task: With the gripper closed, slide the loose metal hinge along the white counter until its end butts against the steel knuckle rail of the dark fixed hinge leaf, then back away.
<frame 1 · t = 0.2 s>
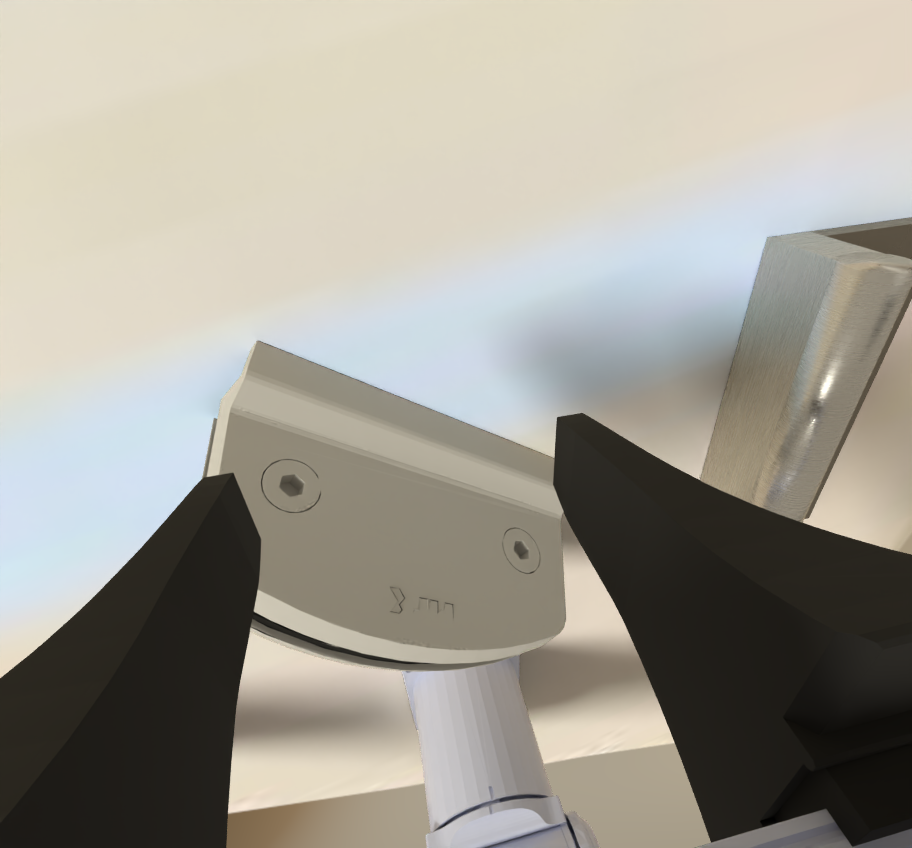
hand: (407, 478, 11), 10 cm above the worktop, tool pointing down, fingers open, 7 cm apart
fixed leaf: (735, 411, 26), on the worktop
hinge: (395, 468, 24), on the worktop
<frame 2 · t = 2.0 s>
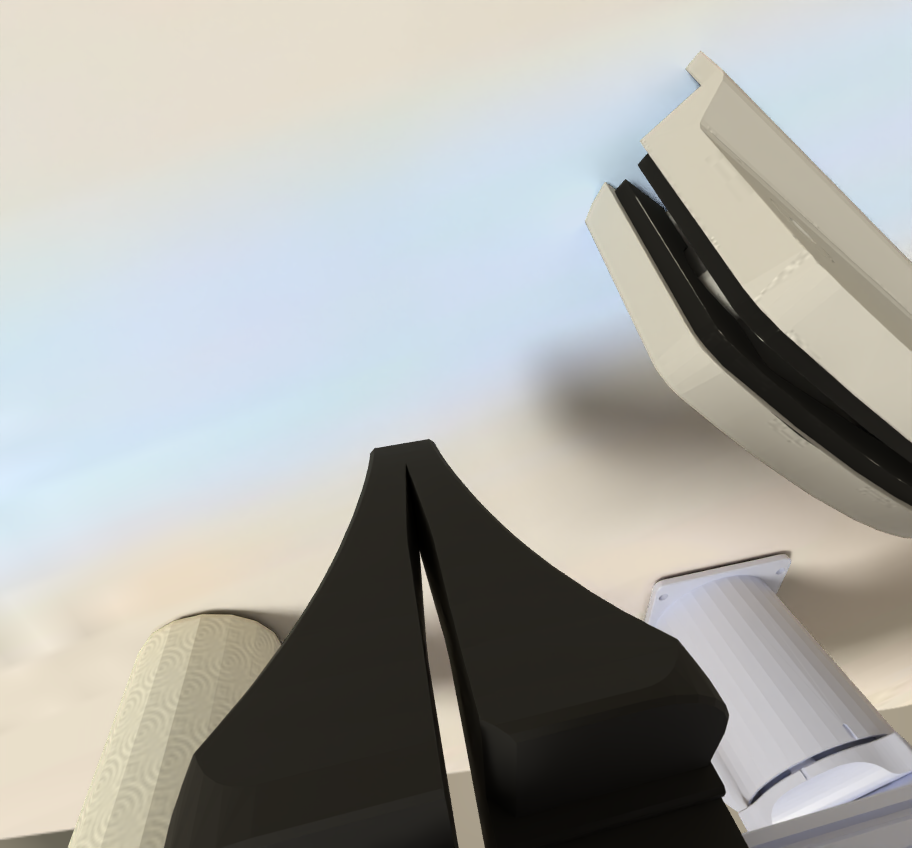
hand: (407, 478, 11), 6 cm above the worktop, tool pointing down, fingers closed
paper towel roll: (218, 654, 23), on the worktop
hinge: (758, 299, 19), on the worktop
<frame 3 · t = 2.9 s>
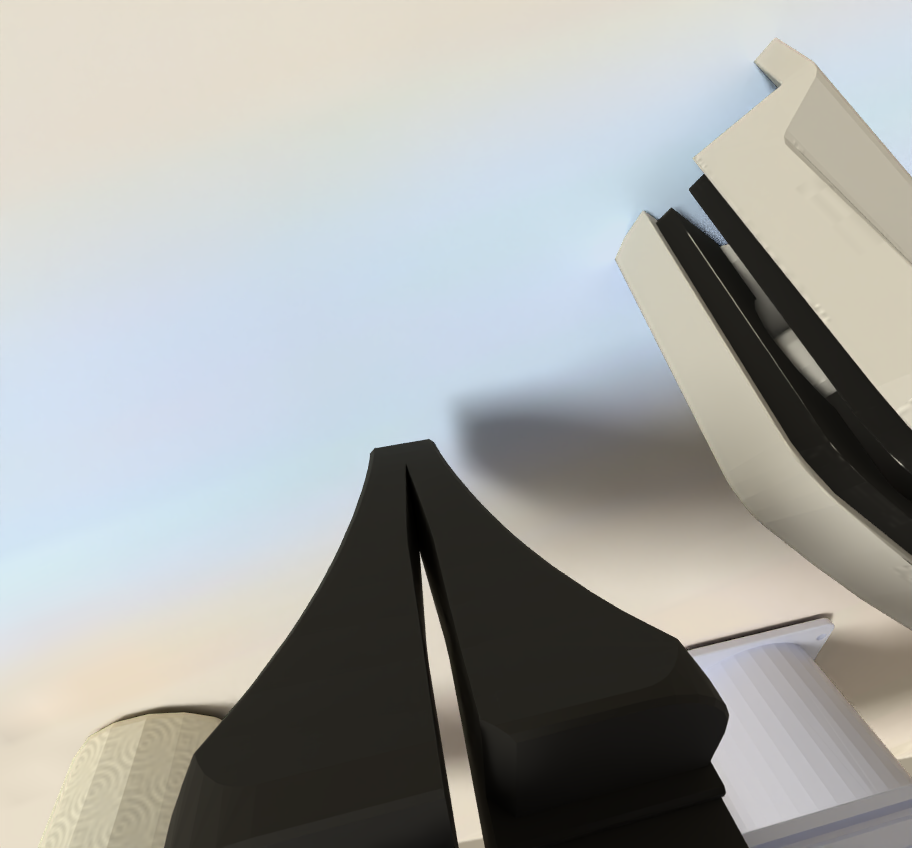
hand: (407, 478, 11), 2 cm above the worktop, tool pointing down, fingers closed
paper towel roll: (173, 749, 20), on the worktop
hinge: (820, 345, 15), on the worktop
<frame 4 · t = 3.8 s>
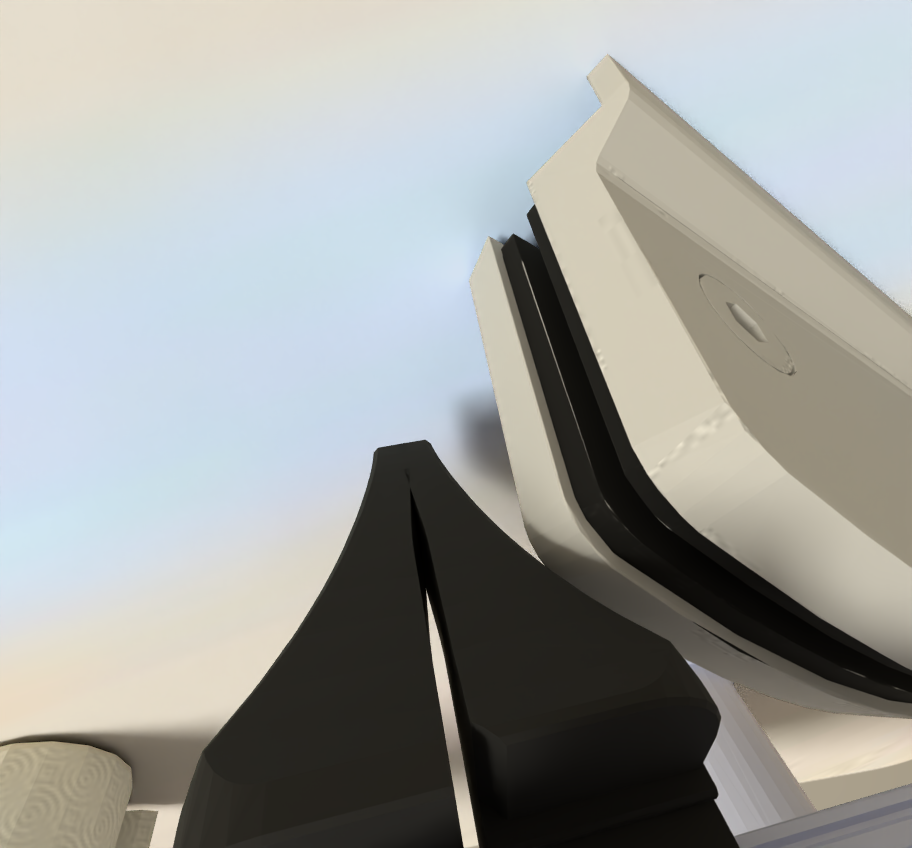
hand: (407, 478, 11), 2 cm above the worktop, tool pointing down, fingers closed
paper towel roll: (54, 776, 19), on the worktop
hinge: (717, 365, 15), on the worktop, touching gripper
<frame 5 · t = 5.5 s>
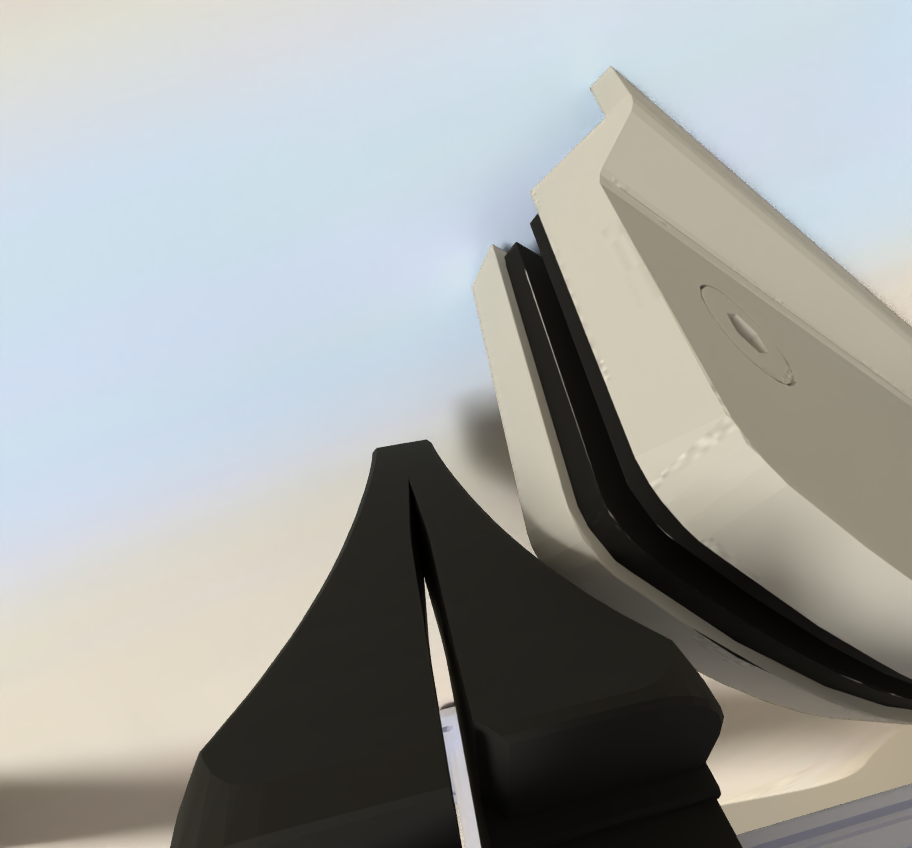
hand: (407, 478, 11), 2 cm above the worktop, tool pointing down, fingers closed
hinge: (716, 372, 15), on the worktop, touching gripper
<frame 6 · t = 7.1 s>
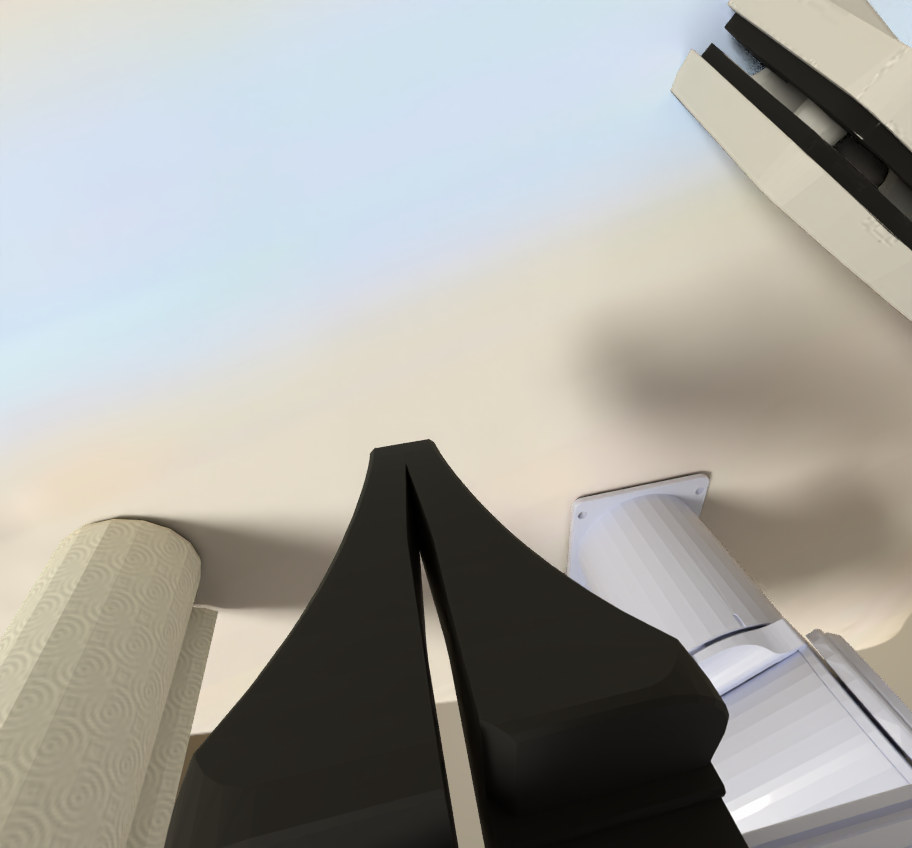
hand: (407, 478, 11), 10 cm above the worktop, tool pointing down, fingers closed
paper towel roll: (138, 566, 24), on the worktop
hinge: (819, 175, 20), on the worktop
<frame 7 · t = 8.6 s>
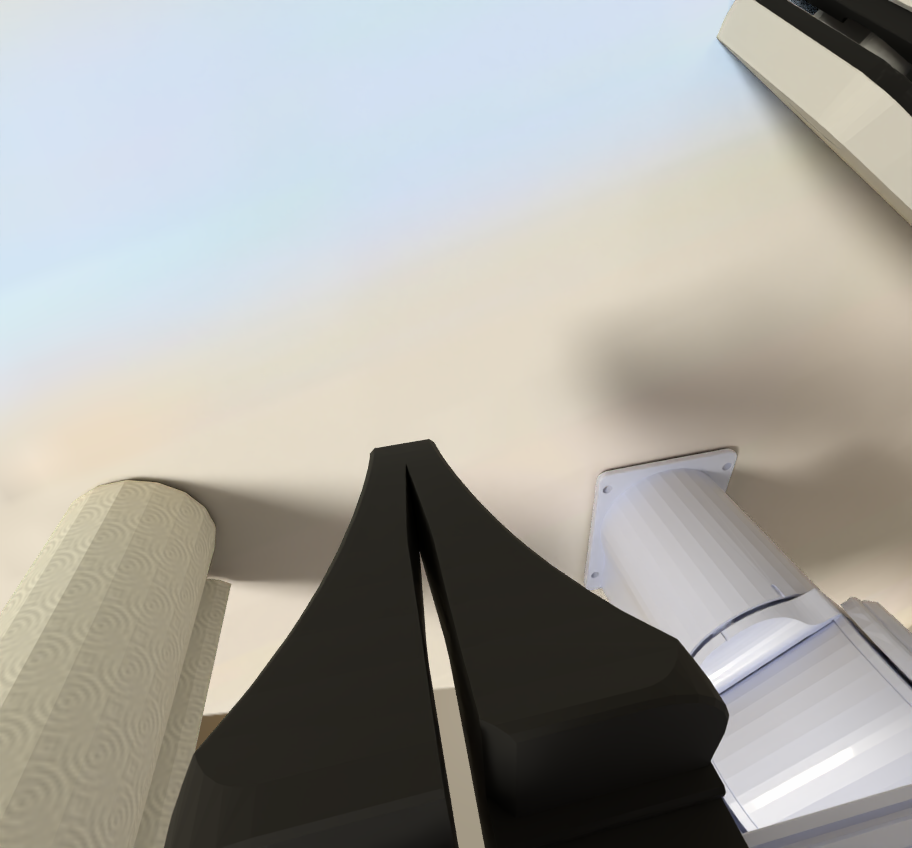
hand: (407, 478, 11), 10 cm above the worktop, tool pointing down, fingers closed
paper towel roll: (150, 533, 23), on the worktop
hinge: (862, 134, 19), on the worktop
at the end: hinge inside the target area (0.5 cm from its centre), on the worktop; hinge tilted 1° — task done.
